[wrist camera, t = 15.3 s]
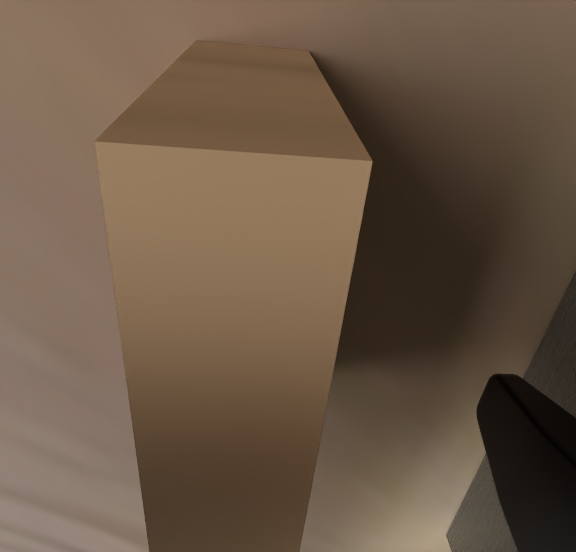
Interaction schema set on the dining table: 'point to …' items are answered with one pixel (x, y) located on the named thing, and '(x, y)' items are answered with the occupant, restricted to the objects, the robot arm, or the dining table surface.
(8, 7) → the dining table surface
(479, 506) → the slot block
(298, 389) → the wooden block
